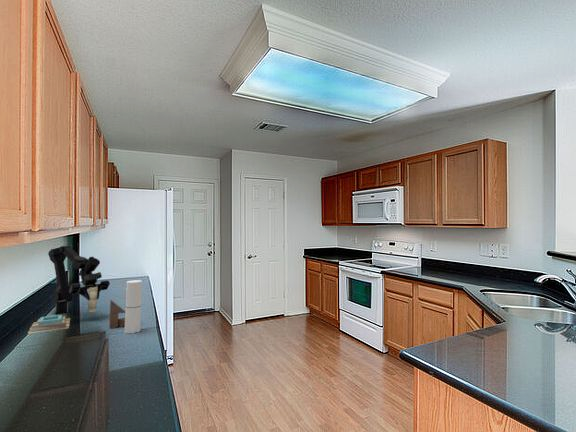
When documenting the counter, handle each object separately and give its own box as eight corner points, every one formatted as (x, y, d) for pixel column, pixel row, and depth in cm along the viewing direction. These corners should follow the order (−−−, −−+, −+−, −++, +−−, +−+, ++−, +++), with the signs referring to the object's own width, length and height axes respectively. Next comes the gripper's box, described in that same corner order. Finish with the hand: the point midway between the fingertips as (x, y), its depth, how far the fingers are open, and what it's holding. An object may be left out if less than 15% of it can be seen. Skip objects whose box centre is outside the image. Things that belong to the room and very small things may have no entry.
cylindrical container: (124, 334, 151) (126, 282, 152) (124, 330, 157) (126, 280, 158) (140, 332, 154) (142, 282, 155) (140, 328, 160) (141, 279, 161)
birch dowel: (87, 310, 170) (88, 287, 171) (96, 309, 173) (97, 286, 173) (87, 312, 167) (89, 288, 168) (96, 311, 169) (97, 287, 170)
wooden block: (109, 326, 162) (110, 292, 163) (131, 323, 168) (133, 290, 169) (109, 328, 159) (111, 293, 160) (133, 325, 165) (134, 291, 166)
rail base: (33, 324, 164) (33, 317, 164) (70, 319, 173) (70, 313, 173) (27, 335, 147) (27, 328, 147) (68, 329, 156) (68, 323, 156)
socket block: (40, 325, 160) (40, 317, 160) (61, 322, 165) (62, 314, 165) (38, 330, 152) (38, 321, 153) (60, 327, 157) (61, 319, 157)
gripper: (72, 269, 166) (78, 293, 159) (109, 266, 181) (116, 288, 173) (66, 282, 171) (72, 305, 163) (103, 278, 185) (110, 299, 178)
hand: (93, 299), depth 169 cm, fingers closed on birch dowel, 4 cm apart
